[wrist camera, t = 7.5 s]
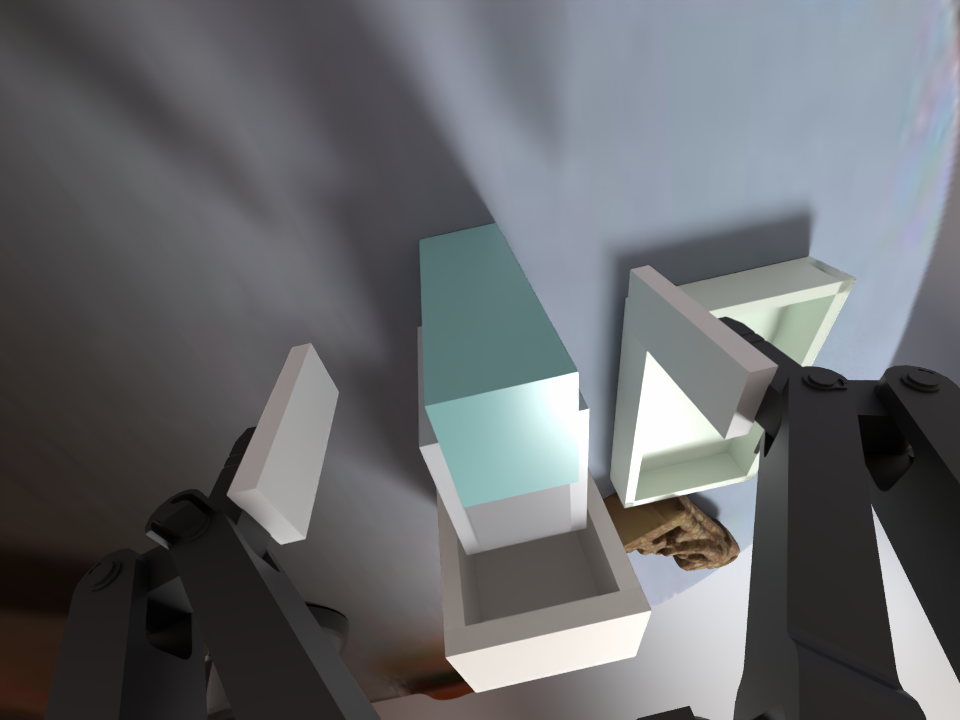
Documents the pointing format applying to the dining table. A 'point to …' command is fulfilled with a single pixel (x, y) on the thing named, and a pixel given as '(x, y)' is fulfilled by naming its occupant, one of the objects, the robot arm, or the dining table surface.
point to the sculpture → (673, 532)
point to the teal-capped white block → (497, 397)
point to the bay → (540, 602)
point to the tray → (670, 413)
